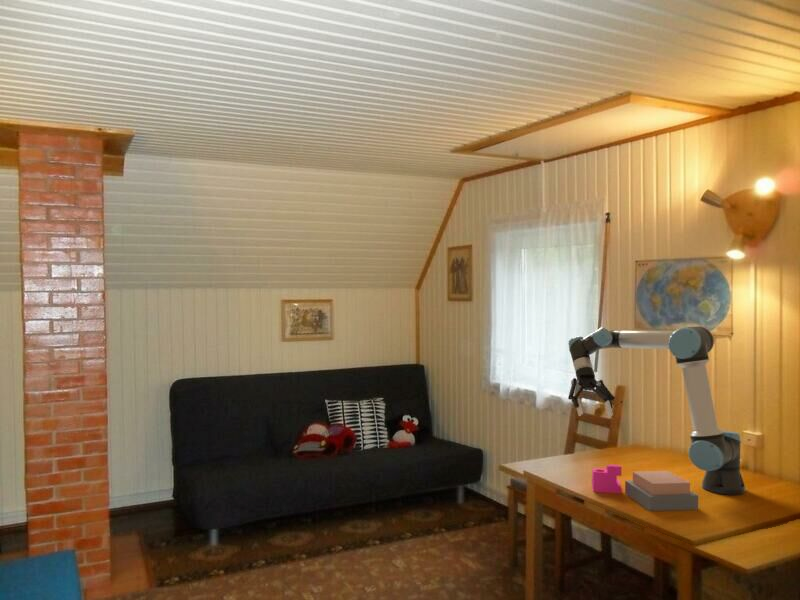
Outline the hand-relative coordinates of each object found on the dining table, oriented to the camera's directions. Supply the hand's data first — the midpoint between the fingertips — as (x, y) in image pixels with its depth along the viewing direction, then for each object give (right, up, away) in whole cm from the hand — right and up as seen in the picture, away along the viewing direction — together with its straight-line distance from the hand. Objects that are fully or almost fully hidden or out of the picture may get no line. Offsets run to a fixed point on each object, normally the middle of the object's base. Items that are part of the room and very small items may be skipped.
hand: (595, 415), depth 273 cm
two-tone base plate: (+16, -27, -27) cm, 41 cm away
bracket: (+1, -27, -10) cm, 29 cm away
